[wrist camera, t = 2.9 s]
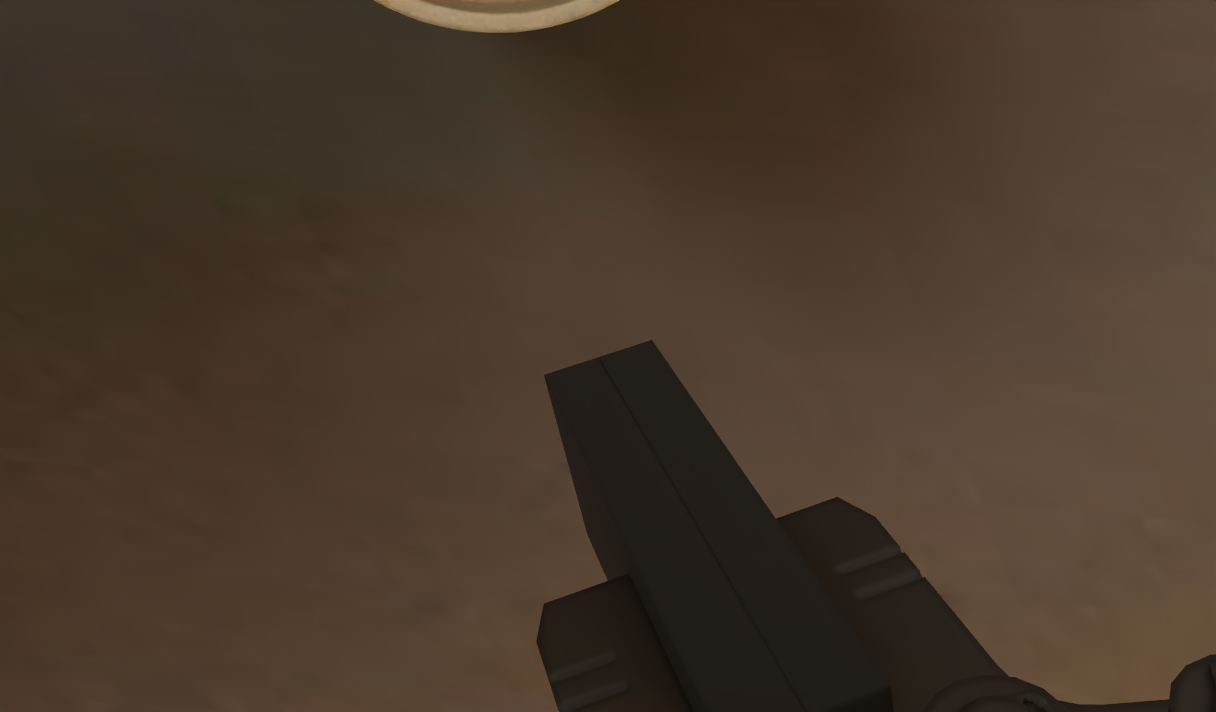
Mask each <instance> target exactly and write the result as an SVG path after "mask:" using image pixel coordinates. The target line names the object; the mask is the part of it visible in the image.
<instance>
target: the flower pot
mask: <svg viewBox="0 0 1216 712" xmlns="http://www.w3.org/2000/svg"><path fill="white" fill-rule="evenodd" d="M374 1H376V2H377V3H379V4H381V5H383V6H385V7H387V8H389V9H391V10H394V11H396V12H399V13H401V14H403V15H405V16H408V17H411V18H414V19H416V20H419V21H421V22H425V23H429V24H433V25H437V26H442V27H446V28H451V29H456V30H462V31H473V32H490V33H508V32H522V31H530V30H537V29H543V28H548V27H552V26H557V25H561V24H564V23H567V22H571V21H574V20H577V19H580V18H583V17H586V16H588V15H590V14H593V13H595V12H597V11H600V10H602V9H604V8H606V7H607V6H609V5H611V4H613V3H615V2H617V1H619V0H374Z"/></svg>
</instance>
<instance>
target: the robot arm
mask: <svg viewBox="0 0 1216 712" xmlns="http://www.w3.org/2000/svg"><path fill="white" fill-rule="evenodd" d="M544 376H545V380H546V384H547V387H548V391H549V395H550V398H551V402H552V406H553V409H554V413H555V417H556V420H557V424H558V428H559V431H560V435H561V439H562V443H563V446H564V450H565V454H566V457H567V461H568V465H569V468H570V472H571V476H572V479H573V483H574V487H575V490H576V494H577V498H578V501H579V505H580V509H581V512H582V516H583V520H584V523H585V527H586V531H587V534H588V537H589V539H590V541H591V543H592V546H593V548H594V550H595V552H596V555H597V557H598V559H599V562H600V564H601V566H602V568H603V571H604V573H605V575H606V577H607V580H608V581H607V582H604V583H601V584H598V585H596V586H593V587H590V588H587V589H584V590H581V591H579V592H576V593H573V594H570V595H567V596H564V597H562V598H559V599H556V600H553V601H550V602H547V603H545V604H544V606H543V611H542V616H541V621H540V626H539V631H538V636H537V641H536V642H537V645H538V648H539V651H540V654H541V657H542V661H543V664H544V667H545V670H546V673H547V676H548V679H549V682H550V685H551V689H552V692H553V695H554V698H555V701H556V704H557V707H558V710H559V712H1216V654H1215V655H1209V656H1207V657H1205V658H1202V659H1200V660H1198V661H1195V662H1193V663H1191V664H1189V665H1186V666H1185V667H1184V669H1183V670H1182V671H1181V672H1180V673H1179V675H1178V676H1177V677H1176V678H1175V679H1174V681H1173V682H1172V683H1171V690H1170V699H1169V700H1156V701H1144V702H1132V703H1119V704H1107V705H1079V704H1074V703H1068V702H1063V701H1058V700H1056V699H1055V698H1054V697H1053V696H1052V695H1050V694H1049V693H1048V692H1047V691H1045V690H1044V689H1043V688H1041V687H1038V686H1036V685H1033V684H1030V683H1028V682H1025V681H1023V680H1020V679H1018V678H1015V677H1009V676H1008V675H1007V674H1006V673H1005V672H1004V671H1003V670H1002V669H1001V668H1000V667H999V666H998V665H997V664H996V663H995V662H994V661H993V659H992V658H991V657H990V656H989V654H988V653H987V652H986V651H985V650H984V648H983V647H982V646H981V645H980V644H979V642H978V641H977V640H976V639H975V638H974V636H973V635H972V634H971V633H970V631H969V630H968V629H967V628H966V627H965V625H964V624H963V623H962V622H961V621H960V619H959V618H958V617H957V616H956V614H955V613H954V612H953V611H952V610H951V608H950V607H949V606H948V605H947V604H946V602H945V601H944V600H943V599H942V597H941V596H940V595H939V594H938V593H937V591H936V590H935V589H934V588H933V587H932V585H931V584H930V583H929V582H928V580H927V579H926V578H925V577H924V578H922V576H921V574H920V571H919V570H918V568H917V567H916V566H915V565H914V563H913V562H912V561H911V560H910V559H909V557H908V556H907V555H906V554H905V553H902V552H901V550H900V546H899V545H898V544H897V543H896V542H895V540H894V539H893V538H892V537H891V536H890V534H889V533H888V532H887V531H886V530H885V528H884V527H883V526H882V525H881V523H880V522H879V521H878V520H877V519H876V517H874V516H872V515H870V514H868V513H867V512H865V511H863V510H861V509H859V508H857V507H855V506H853V505H851V504H850V503H848V502H846V501H844V500H842V499H840V498H838V497H836V498H833V499H830V500H827V501H825V502H822V503H819V504H816V505H813V506H810V507H808V508H805V509H802V510H799V511H796V512H794V513H791V514H788V515H785V516H782V517H779V518H777V519H775V517H774V516H773V514H772V513H771V511H770V510H769V508H768V507H767V506H766V504H765V503H764V501H763V500H762V498H761V497H760V496H759V494H758V493H757V491H756V490H755V488H754V487H753V485H752V484H751V483H750V481H749V480H748V478H747V477H746V475H745V474H744V472H743V471H742V470H741V468H740V467H739V465H738V464H737V462H736V461H735V459H734V458H733V457H732V455H731V454H730V452H729V451H728V449H727V448H726V446H725V445H724V444H723V442H722V441H721V439H720V438H719V436H718V435H717V433H716V432H715V431H714V429H713V428H712V426H711V425H710V423H709V422H708V420H707V419H706V418H705V416H704V415H703V413H702V412H701V410H700V409H699V407H698V406H697V405H696V403H695V402H694V400H693V399H692V397H691V396H690V394H689V393H688V392H687V390H686V389H685V387H684V386H683V384H682V383H681V381H680V380H679V379H678V377H677V376H676V374H675V373H674V371H673V370H672V368H671V367H670V366H669V364H668V363H667V361H666V360H665V358H664V357H663V356H662V354H661V353H660V351H659V350H658V348H657V347H656V345H655V344H654V343H653V341H652V340H651V341H647V342H644V343H641V344H638V345H635V346H632V347H629V348H626V349H623V350H620V351H617V352H614V353H611V354H607V355H604V356H601V357H598V358H595V359H592V360H589V361H586V362H583V363H580V364H577V365H574V366H570V367H567V368H564V369H561V370H558V371H555V372H552V373H549V374H546V375H544Z"/></svg>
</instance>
